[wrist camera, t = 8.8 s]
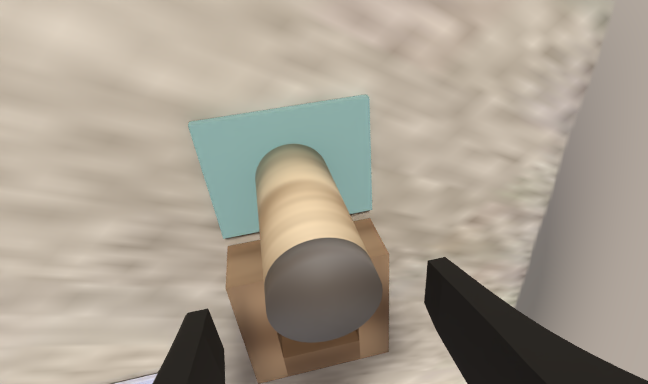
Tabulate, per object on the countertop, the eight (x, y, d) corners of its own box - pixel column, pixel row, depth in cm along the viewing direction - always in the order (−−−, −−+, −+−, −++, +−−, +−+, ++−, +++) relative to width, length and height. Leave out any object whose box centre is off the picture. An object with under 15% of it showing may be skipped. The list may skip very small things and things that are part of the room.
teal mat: (369, 205, 22) (372, 209, 22) (223, 233, 21) (223, 238, 21) (366, 94, 19) (369, 97, 18) (189, 121, 17) (188, 125, 17)
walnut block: (372, 311, 28) (388, 351, 25) (256, 338, 27) (258, 383, 24) (369, 218, 23) (389, 254, 20) (227, 246, 22) (225, 288, 19)
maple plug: (331, 200, 21) (383, 327, 13) (263, 214, 20) (277, 353, 13) (324, 137, 19) (381, 245, 11) (247, 151, 18) (254, 273, 11)
